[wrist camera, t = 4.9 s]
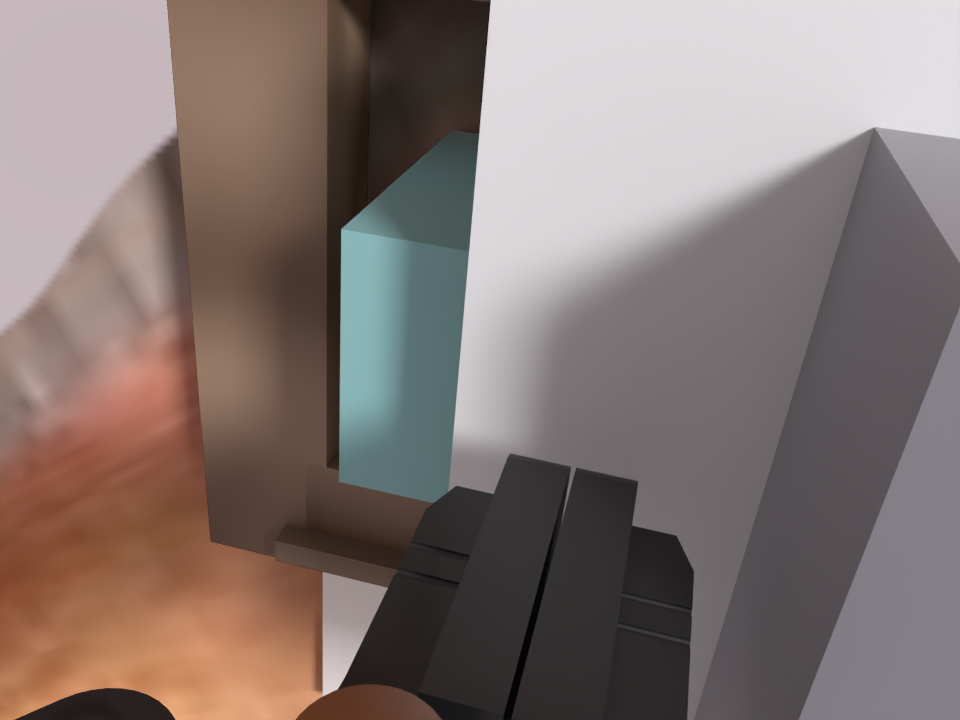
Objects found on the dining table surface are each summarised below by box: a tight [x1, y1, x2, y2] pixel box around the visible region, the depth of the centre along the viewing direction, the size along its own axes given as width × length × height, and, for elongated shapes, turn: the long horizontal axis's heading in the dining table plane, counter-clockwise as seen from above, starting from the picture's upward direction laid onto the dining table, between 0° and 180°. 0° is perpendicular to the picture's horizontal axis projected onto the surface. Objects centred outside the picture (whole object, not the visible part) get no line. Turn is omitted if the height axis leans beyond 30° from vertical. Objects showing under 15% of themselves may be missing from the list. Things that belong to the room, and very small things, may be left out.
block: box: [339, 130, 479, 503], centre depth 16 cm, size 4×4×6 cm
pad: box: [323, 572, 388, 696], centre depth 24 cm, size 6×6×1 cm
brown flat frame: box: [167, 0, 491, 588], centre depth 16 cm, size 16×25×3 cm, turn 85°
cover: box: [448, 0, 960, 720], centre depth 12 cm, size 14×10×9 cm
